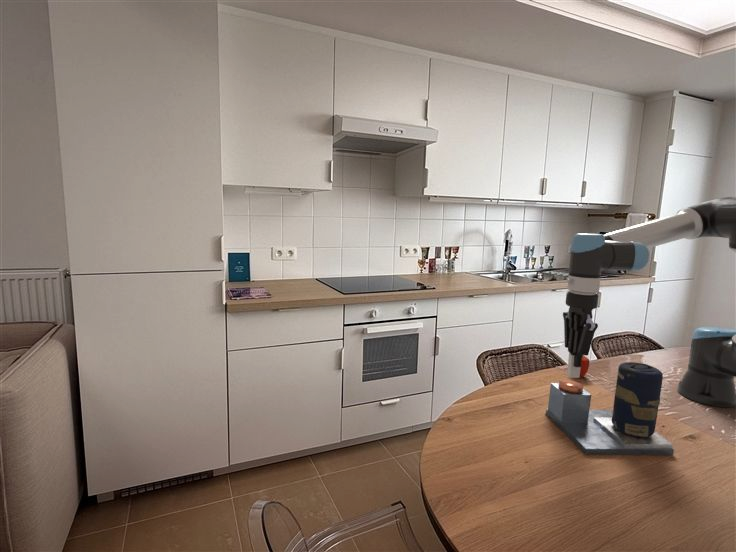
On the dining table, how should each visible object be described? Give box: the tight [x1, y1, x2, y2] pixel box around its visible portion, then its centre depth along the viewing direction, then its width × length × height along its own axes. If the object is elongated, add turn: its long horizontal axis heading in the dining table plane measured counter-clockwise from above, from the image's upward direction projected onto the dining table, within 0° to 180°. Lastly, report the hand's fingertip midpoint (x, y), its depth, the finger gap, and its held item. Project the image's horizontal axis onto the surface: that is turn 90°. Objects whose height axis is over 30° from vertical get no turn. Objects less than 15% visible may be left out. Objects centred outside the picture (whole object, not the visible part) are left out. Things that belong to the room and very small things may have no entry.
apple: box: [579, 355, 590, 378], centre depth 148 cm, size 6×6×8 cm
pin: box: [558, 379, 584, 393], centre depth 114 cm, size 6×6×9 cm
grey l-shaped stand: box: [545, 382, 675, 456], centre depth 109 cm, size 22×20×10 cm
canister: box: [612, 361, 664, 437], centre depth 105 cm, size 10×10×18 cm
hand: (573, 376), depth 113 cm, fingers closed
